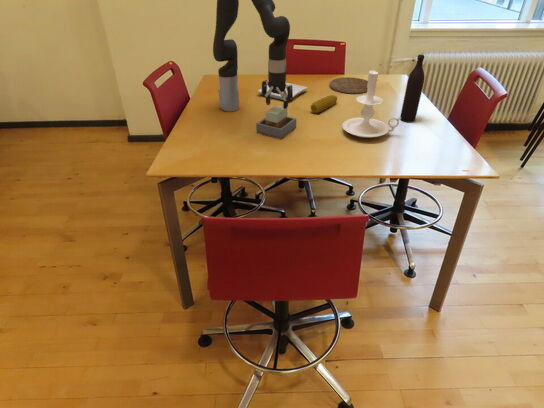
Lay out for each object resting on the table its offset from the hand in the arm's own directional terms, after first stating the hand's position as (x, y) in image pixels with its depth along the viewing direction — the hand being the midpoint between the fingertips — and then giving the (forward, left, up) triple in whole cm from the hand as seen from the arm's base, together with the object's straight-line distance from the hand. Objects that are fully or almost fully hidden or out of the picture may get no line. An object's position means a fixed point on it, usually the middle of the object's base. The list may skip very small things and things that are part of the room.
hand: (276, 106), depth 169 cm
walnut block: (0, 0, -10) cm, 10 cm away
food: (+8, +35, -12) cm, 38 cm away
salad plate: (-21, +43, -12) cm, 49 cm away
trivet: (+8, +73, -12) cm, 74 cm away
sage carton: (0, 0, -5) cm, 5 cm away
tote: (0, 0, -11) cm, 11 cm away
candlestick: (+38, +18, -12) cm, 44 cm away
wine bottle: (+49, +42, -12) cm, 65 cm away
